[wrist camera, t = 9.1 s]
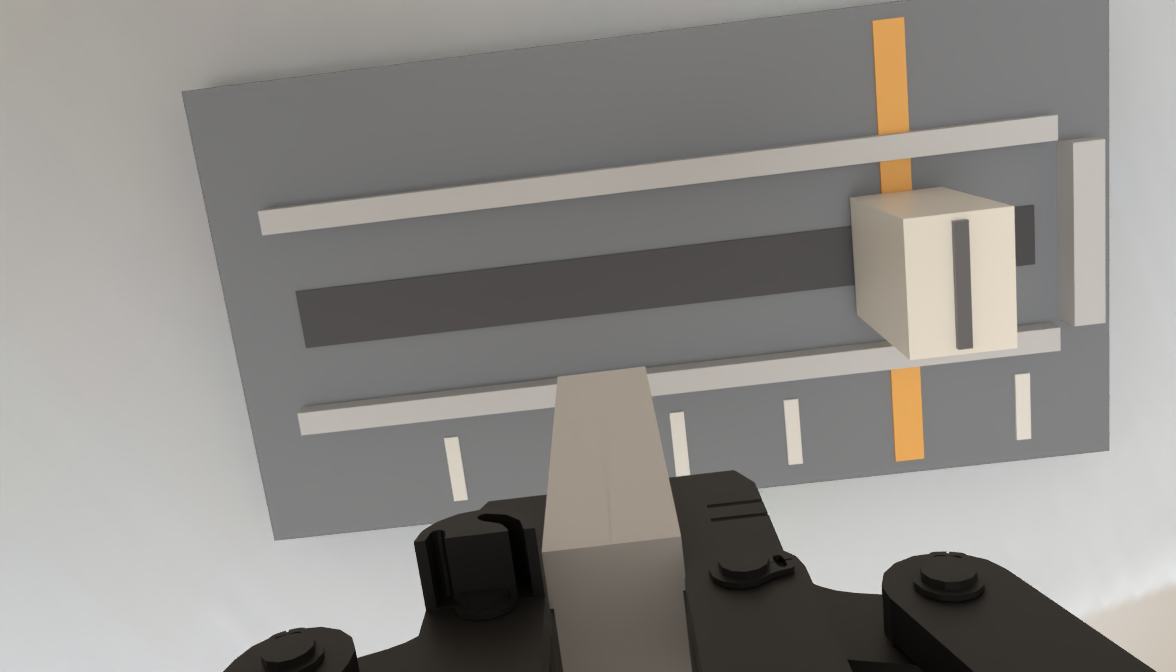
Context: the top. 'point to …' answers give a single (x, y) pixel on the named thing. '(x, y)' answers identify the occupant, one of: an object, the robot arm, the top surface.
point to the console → (652, 252)
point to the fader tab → (936, 271)
